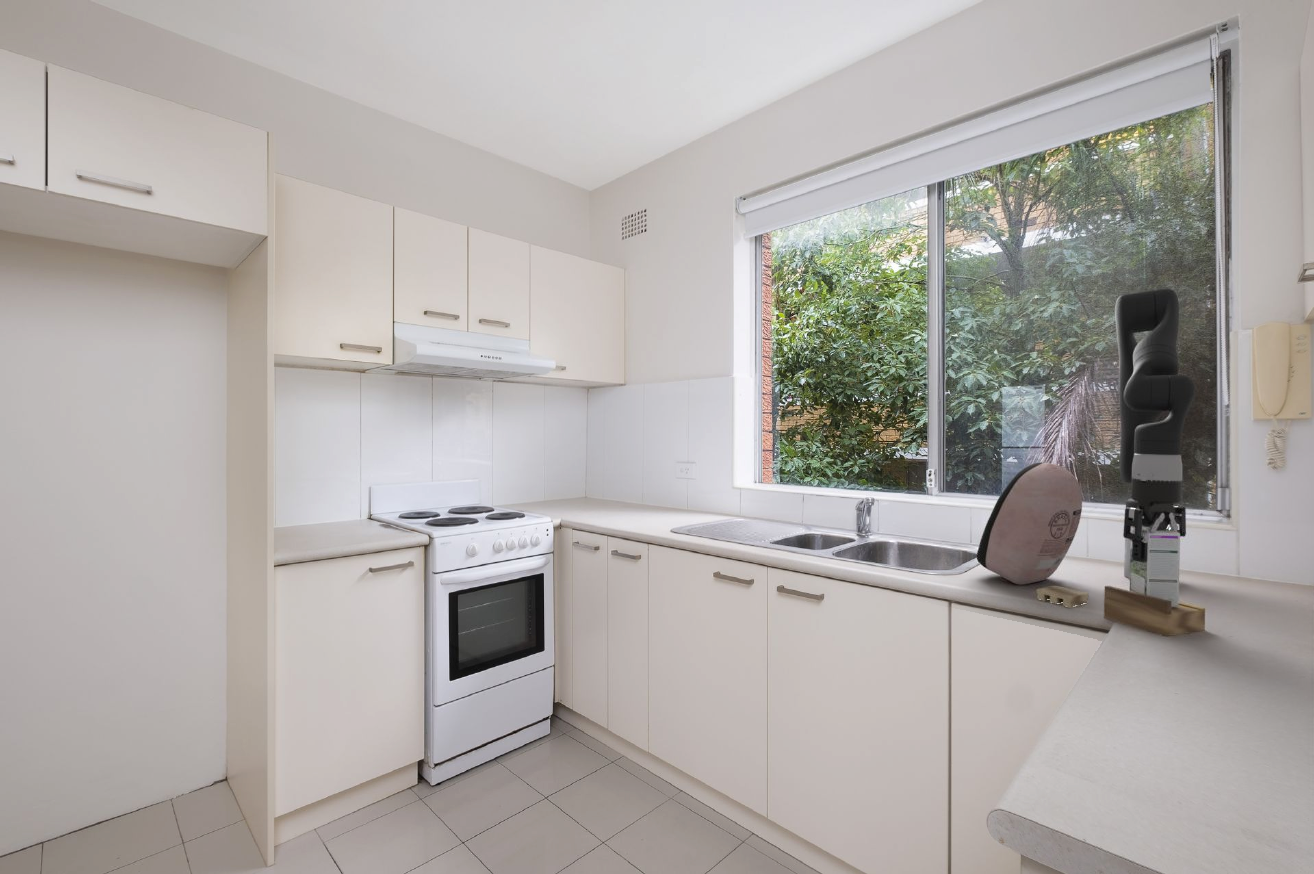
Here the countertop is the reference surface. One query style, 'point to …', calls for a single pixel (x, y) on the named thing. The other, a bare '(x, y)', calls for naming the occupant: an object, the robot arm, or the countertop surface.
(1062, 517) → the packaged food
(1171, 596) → the syrup box
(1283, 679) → the countertop surface
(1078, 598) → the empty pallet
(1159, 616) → the dock
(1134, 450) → the robot arm
